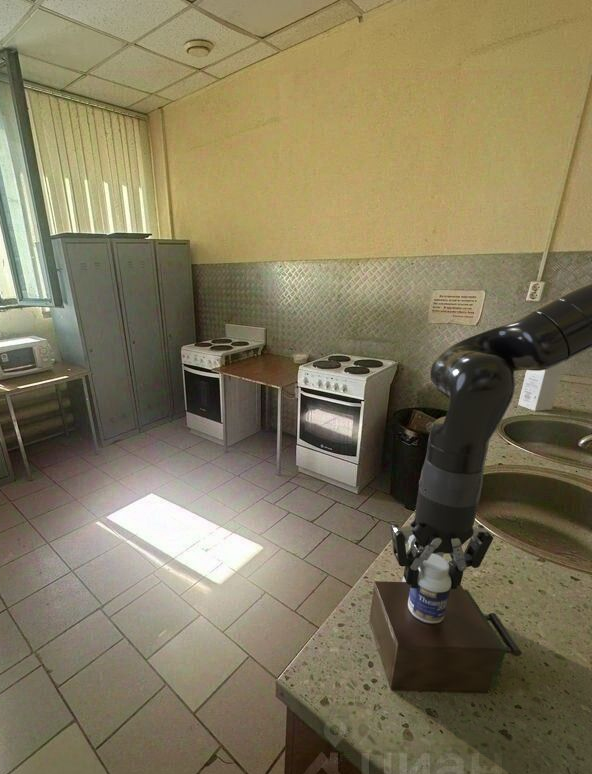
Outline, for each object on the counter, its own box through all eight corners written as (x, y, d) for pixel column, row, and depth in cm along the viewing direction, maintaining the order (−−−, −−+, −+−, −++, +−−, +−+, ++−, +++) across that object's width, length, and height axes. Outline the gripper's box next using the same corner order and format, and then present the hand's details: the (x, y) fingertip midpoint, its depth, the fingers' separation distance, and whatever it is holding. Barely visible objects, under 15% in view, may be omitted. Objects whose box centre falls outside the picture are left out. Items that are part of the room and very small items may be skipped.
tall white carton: (552, 409, 172) (567, 353, 164) (534, 411, 171) (549, 354, 162) (534, 403, 181) (548, 349, 172) (517, 404, 179) (530, 350, 170)
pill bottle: (412, 623, 61) (421, 573, 58) (403, 596, 66) (411, 549, 63) (449, 626, 60) (460, 576, 57) (437, 599, 65) (447, 551, 62)
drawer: (484, 624, 71) (492, 590, 68) (524, 687, 60) (536, 650, 57) (383, 621, 72) (388, 587, 69) (405, 682, 61) (411, 646, 58)
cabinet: (450, 624, 72) (459, 582, 68) (488, 693, 60) (501, 648, 57) (369, 621, 73) (374, 581, 69) (390, 690, 61) (398, 644, 58)
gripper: (405, 504, 52) (391, 602, 58) (518, 505, 51) (492, 605, 57) (388, 476, 59) (376, 566, 65) (487, 477, 58) (466, 568, 64)
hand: (431, 584), depth 61 cm, fingers closed on pill bottle, 5 cm apart
